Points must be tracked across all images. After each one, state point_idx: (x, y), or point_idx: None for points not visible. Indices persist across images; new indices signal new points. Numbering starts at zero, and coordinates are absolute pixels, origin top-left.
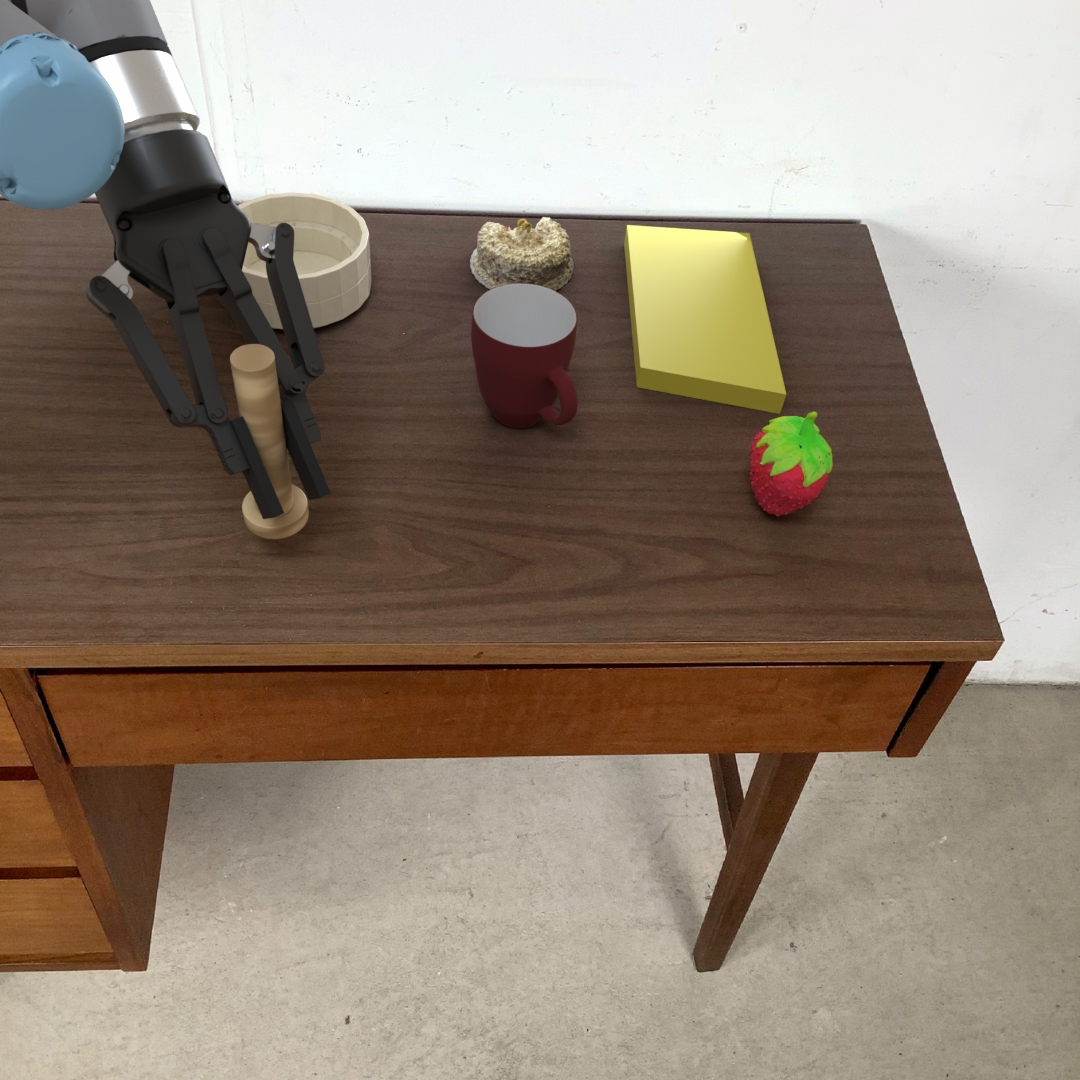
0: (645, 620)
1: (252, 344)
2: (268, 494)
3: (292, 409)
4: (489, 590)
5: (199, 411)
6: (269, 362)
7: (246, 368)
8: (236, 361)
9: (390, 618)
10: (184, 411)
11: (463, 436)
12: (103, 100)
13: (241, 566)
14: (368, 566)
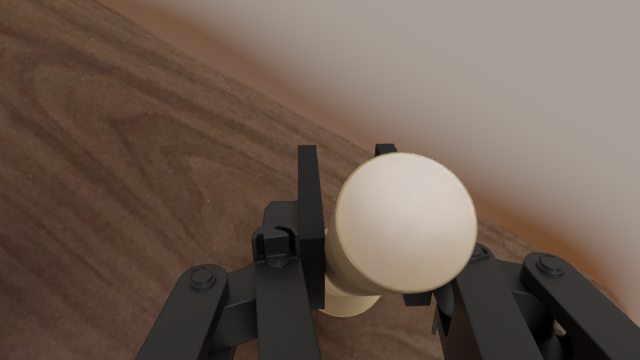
0: (70, 10)
1: (382, 278)
2: None
3: (304, 225)
4: (171, 111)
5: (508, 279)
6: (366, 170)
7: (443, 173)
8: (460, 222)
9: (278, 132)
10: (556, 266)
11: (23, 344)
12: None
13: None
14: (261, 203)
